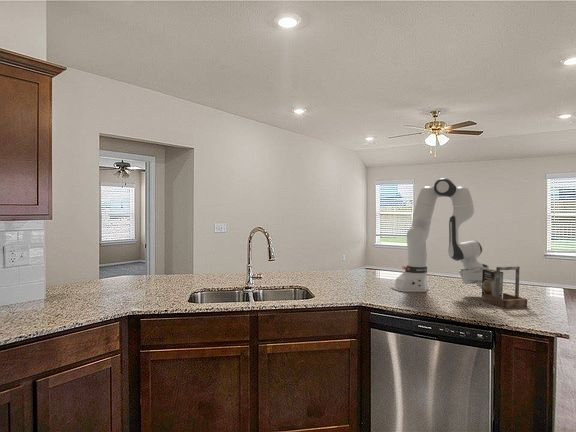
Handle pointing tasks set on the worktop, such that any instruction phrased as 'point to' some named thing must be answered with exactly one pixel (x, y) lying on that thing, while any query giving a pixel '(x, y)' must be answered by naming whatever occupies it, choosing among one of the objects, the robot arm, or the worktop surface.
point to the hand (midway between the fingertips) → (484, 288)
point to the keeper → (508, 299)
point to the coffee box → (491, 283)
